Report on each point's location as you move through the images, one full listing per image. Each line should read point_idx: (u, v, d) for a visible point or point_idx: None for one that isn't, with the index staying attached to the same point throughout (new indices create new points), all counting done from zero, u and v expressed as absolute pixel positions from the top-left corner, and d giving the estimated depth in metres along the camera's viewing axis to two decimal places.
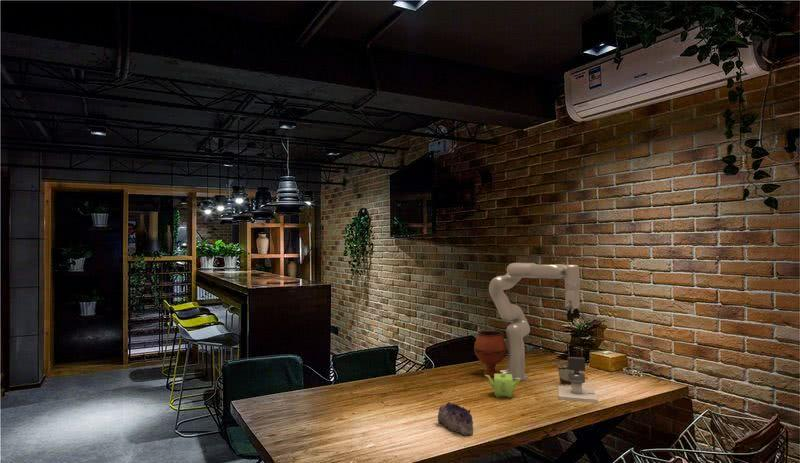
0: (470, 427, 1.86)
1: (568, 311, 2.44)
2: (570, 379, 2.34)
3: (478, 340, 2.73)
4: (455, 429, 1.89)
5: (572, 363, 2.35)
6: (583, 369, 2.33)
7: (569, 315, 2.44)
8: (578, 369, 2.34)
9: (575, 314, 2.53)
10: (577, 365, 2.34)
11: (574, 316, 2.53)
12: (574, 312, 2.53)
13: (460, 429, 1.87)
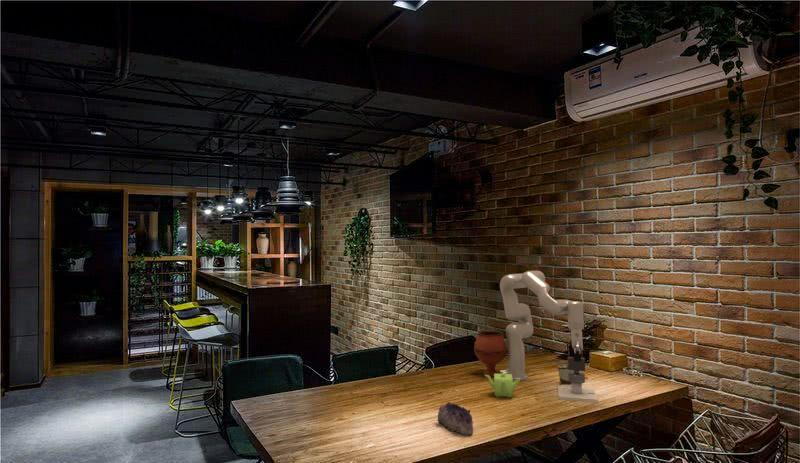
0: (470, 427, 1.86)
1: None
2: (570, 379, 2.34)
3: (478, 340, 2.73)
4: (455, 429, 1.89)
5: (572, 363, 2.35)
6: (583, 369, 2.33)
7: None
8: (578, 369, 2.34)
9: None
10: (577, 365, 2.34)
11: None
12: None
13: (460, 429, 1.87)
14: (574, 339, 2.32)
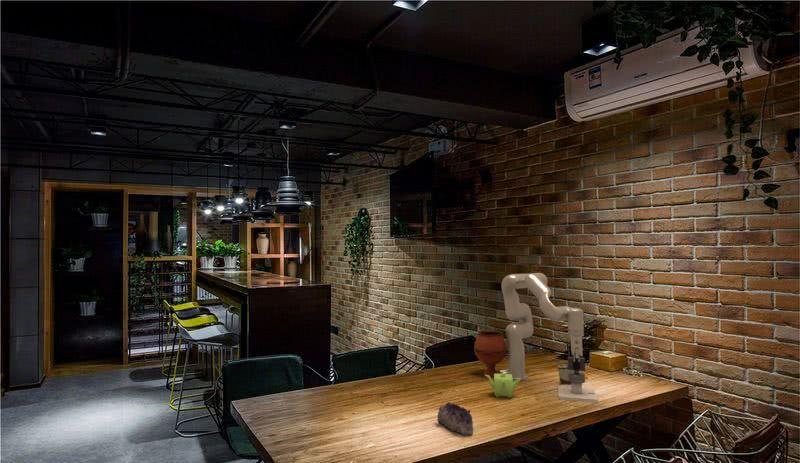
0: (470, 427, 1.86)
1: None
2: (570, 379, 2.34)
3: (478, 340, 2.73)
4: (455, 429, 1.89)
5: (572, 363, 2.35)
6: (583, 369, 2.33)
7: None
8: None
9: None
10: None
11: None
12: None
13: (460, 429, 1.87)
14: (574, 346, 2.32)
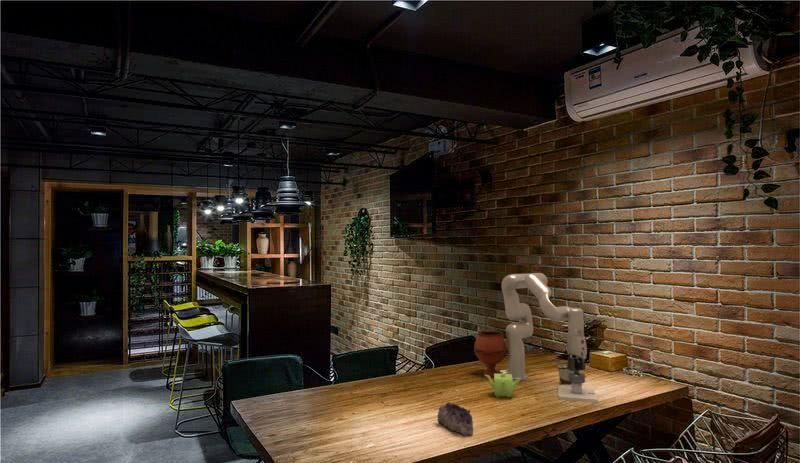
0: (470, 427, 1.86)
1: None
2: (574, 380, 2.33)
3: (478, 340, 2.73)
4: (455, 429, 1.89)
5: (574, 364, 2.34)
6: (583, 368, 2.35)
7: None
8: None
9: None
10: None
11: None
12: None
13: (460, 429, 1.87)
14: (580, 346, 2.31)
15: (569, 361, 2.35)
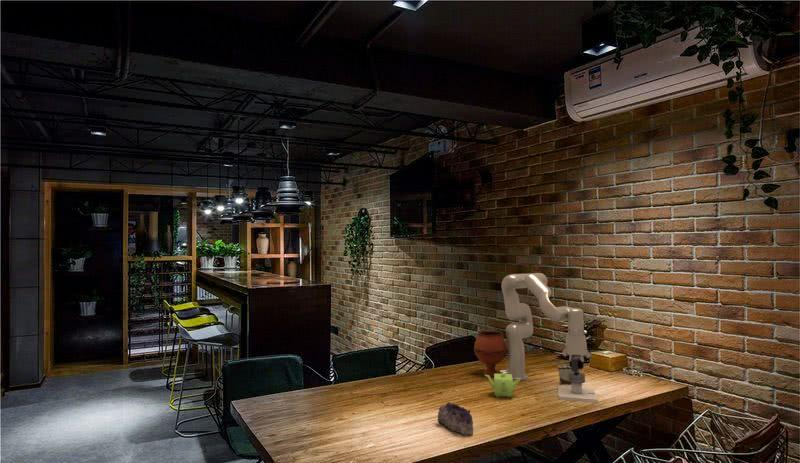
0: (470, 427, 1.86)
1: None
2: (580, 380, 2.32)
3: (478, 340, 2.73)
4: (455, 429, 1.89)
5: (578, 364, 2.33)
6: None
7: None
8: (579, 368, 2.36)
9: (580, 364, 2.36)
10: (579, 364, 2.35)
11: (580, 366, 2.36)
12: (580, 362, 2.36)
13: (460, 429, 1.87)
14: (586, 346, 2.34)
15: (574, 362, 2.33)
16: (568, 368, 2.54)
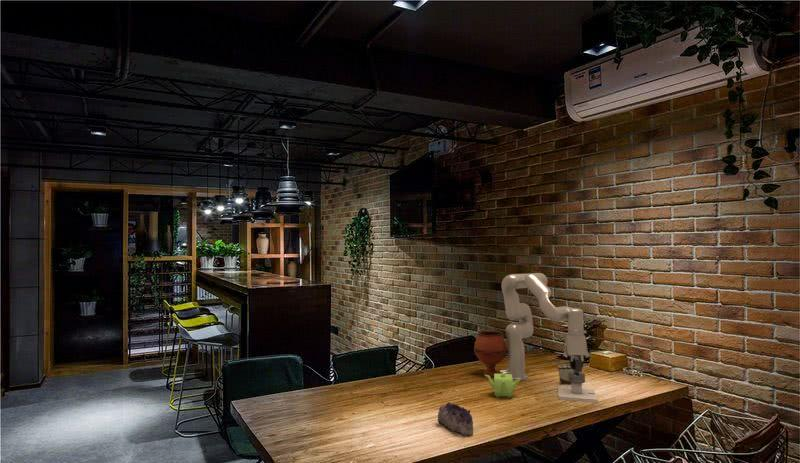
0: (470, 427, 1.86)
1: None
2: (583, 380, 2.32)
3: (478, 340, 2.73)
4: (455, 429, 1.89)
5: None
6: None
7: (570, 363, 2.36)
8: None
9: None
10: None
11: None
12: None
13: (460, 429, 1.87)
14: None
15: (578, 362, 2.32)
16: (568, 368, 2.54)
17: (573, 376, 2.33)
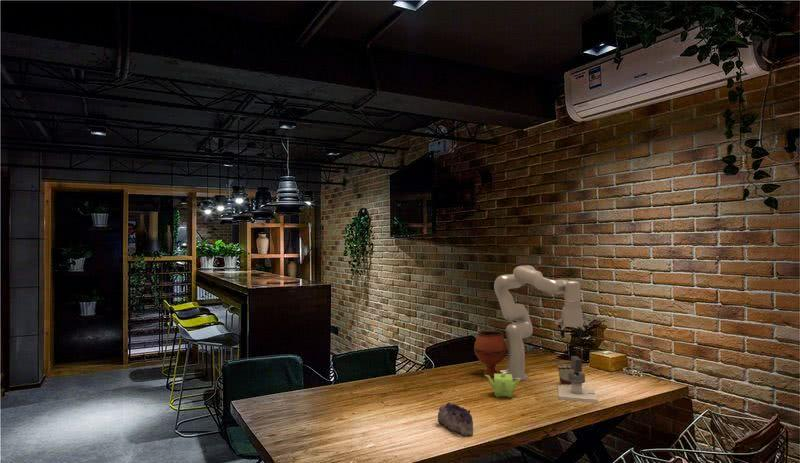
0: (470, 427, 1.86)
1: None
2: (583, 380, 2.32)
3: (478, 340, 2.73)
4: (455, 429, 1.89)
5: None
6: None
7: (560, 331, 2.41)
8: None
9: (580, 333, 2.40)
10: None
11: (580, 335, 2.41)
12: (580, 331, 2.41)
13: (460, 429, 1.87)
14: (582, 317, 2.39)
15: (578, 362, 2.32)
16: (568, 368, 2.54)
17: (573, 376, 2.33)
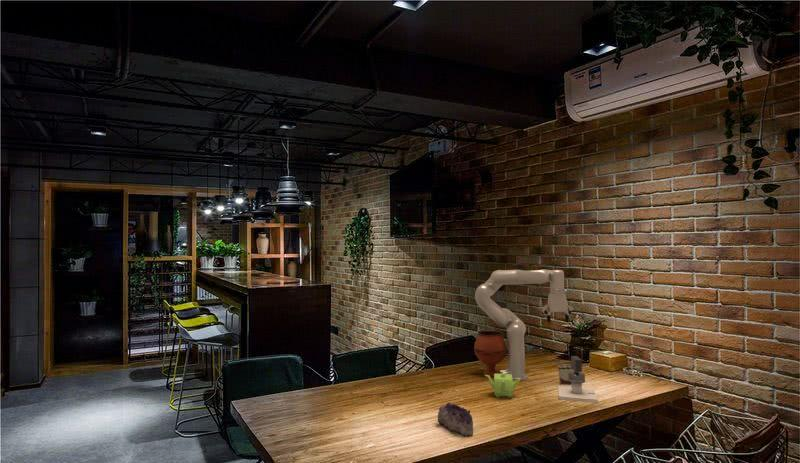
0: (470, 427, 1.86)
1: (545, 313, 2.61)
2: (583, 380, 2.32)
3: (478, 340, 2.73)
4: (455, 430, 1.89)
5: None
6: None
7: (547, 317, 2.61)
8: None
9: (565, 318, 2.61)
10: None
11: (565, 320, 2.61)
12: (565, 316, 2.61)
13: (460, 430, 1.87)
14: (566, 303, 2.60)
15: (578, 362, 2.32)
16: (568, 368, 2.54)
17: (573, 376, 2.33)
